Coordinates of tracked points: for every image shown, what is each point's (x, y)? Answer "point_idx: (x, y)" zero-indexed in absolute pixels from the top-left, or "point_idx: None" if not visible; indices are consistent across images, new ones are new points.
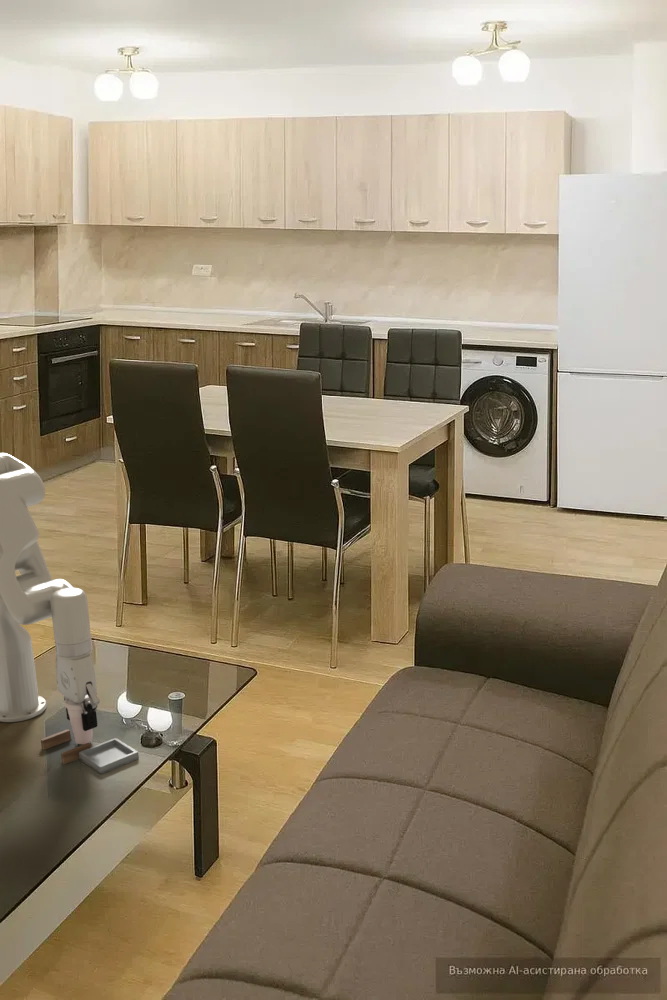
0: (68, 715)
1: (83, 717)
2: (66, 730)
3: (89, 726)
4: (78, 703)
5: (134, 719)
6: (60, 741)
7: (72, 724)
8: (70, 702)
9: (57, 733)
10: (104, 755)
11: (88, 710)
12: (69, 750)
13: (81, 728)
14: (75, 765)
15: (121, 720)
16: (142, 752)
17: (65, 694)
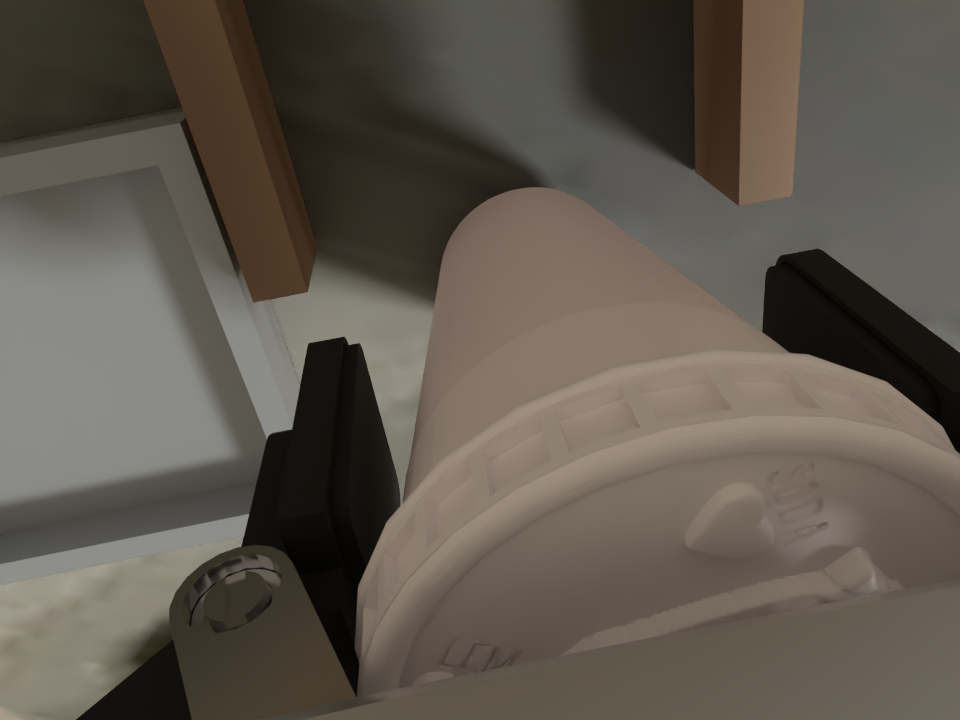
0: (812, 291)
1: (289, 485)
2: (769, 171)
3: (269, 439)
4: (525, 643)
5: None
6: (702, 47)
7: (551, 258)
8: (700, 527)
9: (784, 45)
10: (111, 344)
11: (130, 698)
12: (208, 20)
13: (435, 328)
14: (63, 10)
15: None
16: (82, 587)
17: (956, 668)
